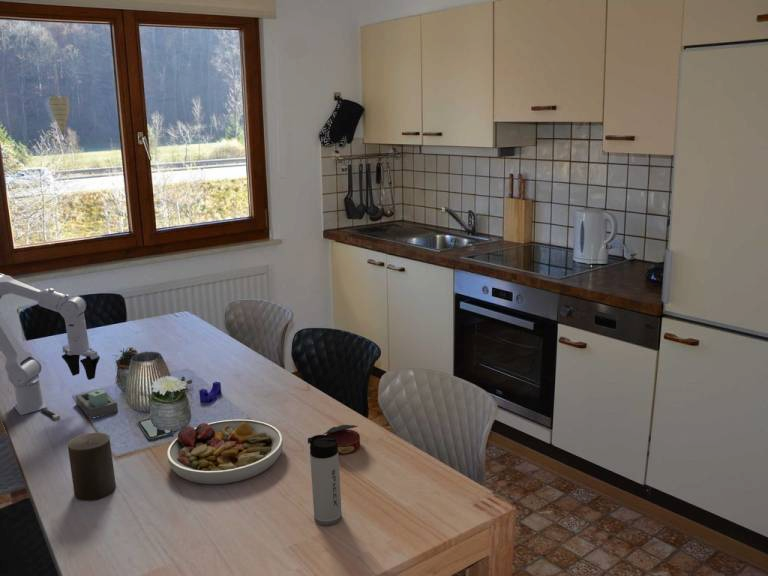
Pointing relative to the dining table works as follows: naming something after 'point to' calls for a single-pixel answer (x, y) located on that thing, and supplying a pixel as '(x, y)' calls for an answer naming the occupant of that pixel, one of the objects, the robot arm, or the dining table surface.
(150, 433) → the smartphone
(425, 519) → the dining table surface
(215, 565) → the dining table surface
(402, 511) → the dining table surface
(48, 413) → the cable piece
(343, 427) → the canned food
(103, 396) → the block
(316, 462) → the travel mug
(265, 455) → the bowl
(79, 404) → the grey piece
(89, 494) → the pillar candle
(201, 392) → the cable holder
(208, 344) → the dining table surface
